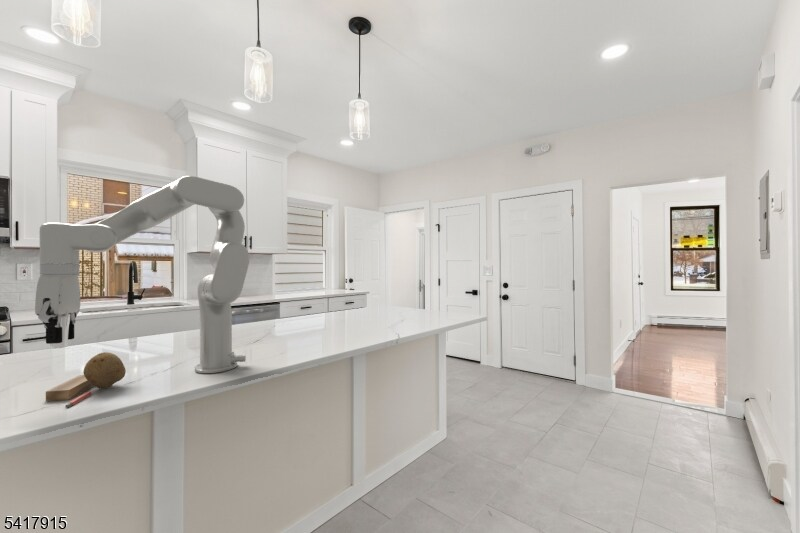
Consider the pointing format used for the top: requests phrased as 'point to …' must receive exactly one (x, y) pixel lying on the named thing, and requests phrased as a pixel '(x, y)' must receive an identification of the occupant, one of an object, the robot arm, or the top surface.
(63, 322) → the milkshake
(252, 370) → the top surface
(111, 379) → the coconut
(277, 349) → the top surface
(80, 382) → the batten
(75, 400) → the carpenter pencil
